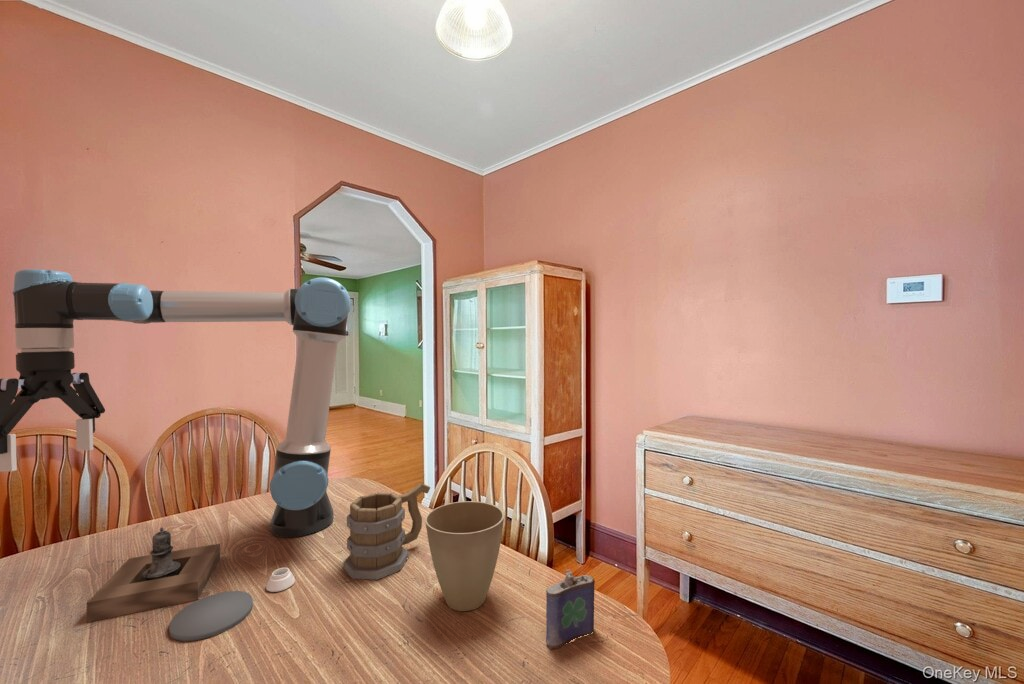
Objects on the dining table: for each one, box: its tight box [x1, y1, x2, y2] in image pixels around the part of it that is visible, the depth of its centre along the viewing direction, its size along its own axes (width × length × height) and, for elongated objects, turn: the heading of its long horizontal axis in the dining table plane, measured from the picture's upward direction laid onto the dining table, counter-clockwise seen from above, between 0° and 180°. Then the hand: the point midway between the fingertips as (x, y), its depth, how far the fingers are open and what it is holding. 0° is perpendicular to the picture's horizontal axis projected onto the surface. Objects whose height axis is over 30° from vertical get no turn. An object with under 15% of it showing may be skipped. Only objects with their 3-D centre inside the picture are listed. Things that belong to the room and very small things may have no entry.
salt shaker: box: [142, 527, 181, 581], centre depth 83 cm, size 6×6×12 cm
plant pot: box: [424, 500, 505, 612], centre depth 78 cm, size 15×15×16 cm
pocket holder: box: [86, 543, 221, 623], centre depth 83 cm, size 16×16×4 cm
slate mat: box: [168, 590, 254, 642], centre depth 73 cm, size 12×12×1 cm
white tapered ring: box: [265, 567, 296, 593], centre depth 83 cm, size 5×3×5 cm
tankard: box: [342, 482, 431, 581], centre depth 93 cm, size 20×13×15 cm, turn 131°
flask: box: [545, 569, 596, 650], centre depth 68 cm, size 9×3×11 cm, turn 117°
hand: (49, 459), depth 80 cm, fingers open, 13 cm apart
